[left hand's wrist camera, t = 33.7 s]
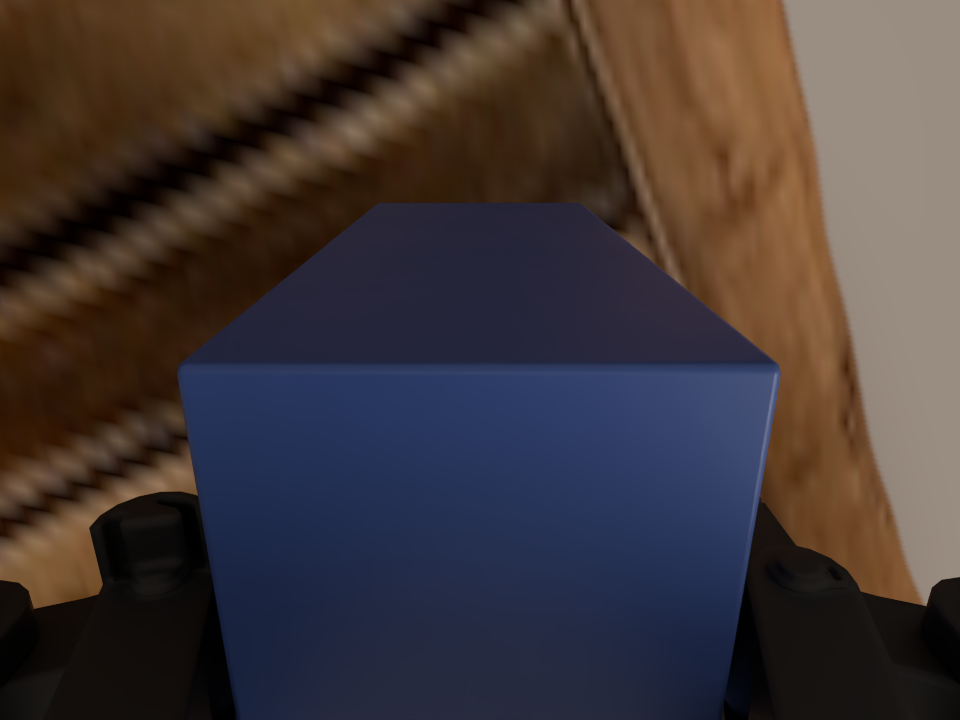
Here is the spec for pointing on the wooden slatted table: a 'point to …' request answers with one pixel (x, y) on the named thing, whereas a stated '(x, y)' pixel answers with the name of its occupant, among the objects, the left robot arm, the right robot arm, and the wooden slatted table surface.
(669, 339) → the block
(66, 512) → the wooden slatted table surface
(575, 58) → the wooden slatted table surface
